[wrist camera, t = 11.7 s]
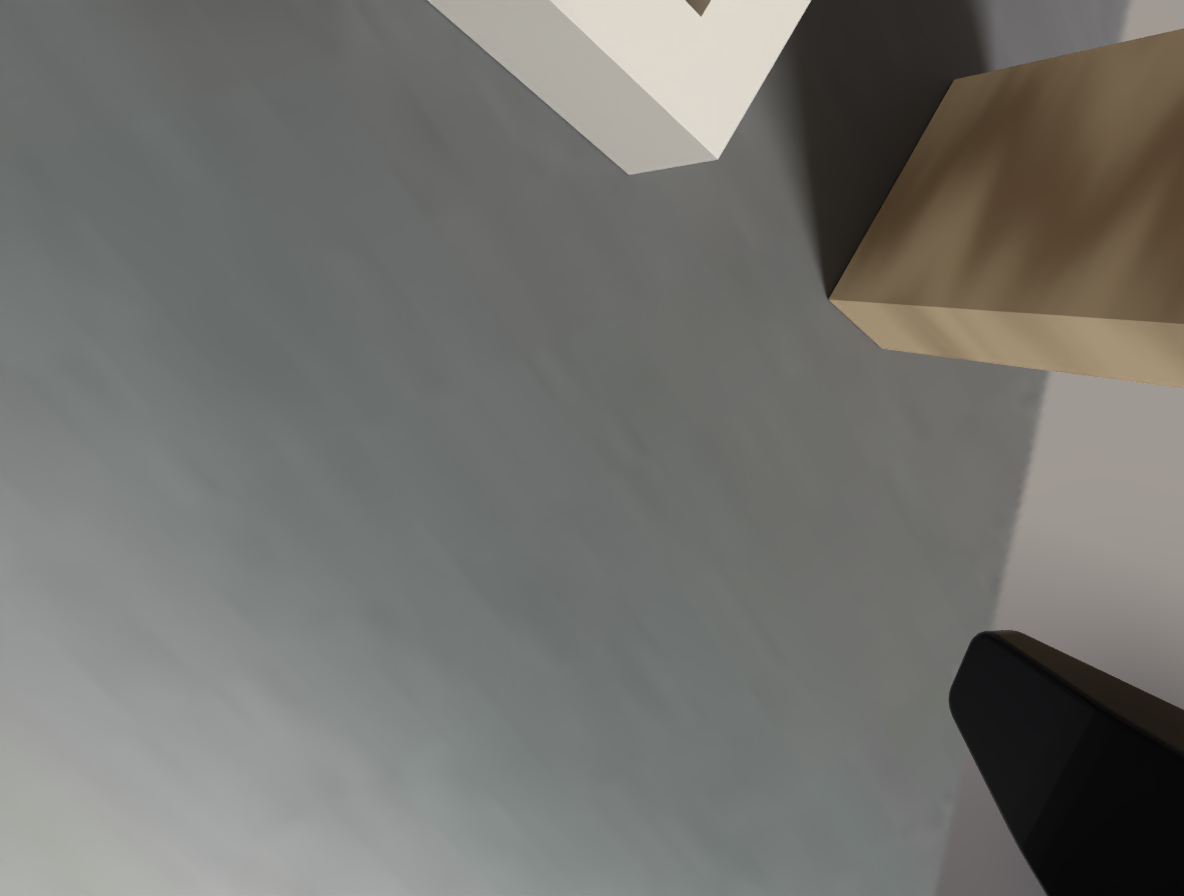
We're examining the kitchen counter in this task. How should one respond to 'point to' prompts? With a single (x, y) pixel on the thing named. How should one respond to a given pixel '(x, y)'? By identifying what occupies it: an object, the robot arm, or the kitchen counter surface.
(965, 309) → the tall textured pillar
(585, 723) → the kitchen counter surface
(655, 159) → the socket
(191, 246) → the kitchen counter surface
